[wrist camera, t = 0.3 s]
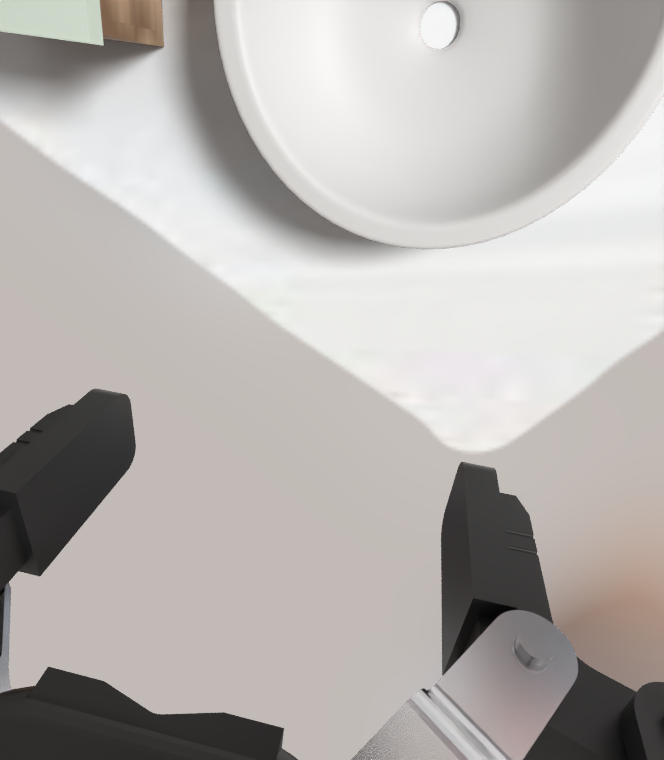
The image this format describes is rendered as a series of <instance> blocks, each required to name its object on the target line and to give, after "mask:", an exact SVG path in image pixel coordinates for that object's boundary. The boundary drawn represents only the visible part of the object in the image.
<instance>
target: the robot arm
mask: <svg viewBox="0 0 664 760" xmlns="http://www.w3.org/2000/svg"><path fill="white" fill-rule="evenodd" d="M135 448H136V445H135V435H134V427H133V419H132V411H131V403H130V399H129V397H128V396H127V395H125V394H121V393H116V392H111V391H105V390H101V389H93V390H91V391H90V392H88V393H87V394H86V395H85V396H84V397H82V398H81V399H80V400H79V401H78V402H77V403H75V404H74V405H67V406H65V407H62V408H60V409H58V410H56V411H54V412H51V413H49V414H47V415H46V416H45V417H43V418H42V419H41V420H40V421H39V422H37V423H36V424H35V425H34V426H32V427H31V428H30V431H26V432H25V433H24V434H23V435H21V436H20V437H19V438H18V439H17V442H16V443H14V442H13V443H12V444H10V445H9V446H8V447H7V448H6V449H4V450H3V451H2V452H1V453H0V760H298V759H296V758H295V757H294V756H293V755H291V754H290V753H288V752H286V751H285V750H283V749H282V740H283V731H284V728H281V727H277V726H273V725H269V724H265V723H261V722H258V721H254V720H250V719H246V718H242V717H239V716H235V715H231V714H227V713H197V714H165V715H161V714H155V713H152V712H150V711H148V710H147V709H145V708H144V707H142V706H141V705H139V704H138V703H136V702H135V701H133V700H132V699H130V698H129V697H127V696H126V695H124V694H123V693H121V692H119V691H118V690H116V689H115V688H113V687H112V686H110V685H109V684H107V683H106V682H104V681H101V680H97V679H93V678H89V677H86V676H81V675H78V674H74V673H70V672H66V671H63V670H59V669H55V668H51V667H48V668H47V670H46V671H45V672H44V674H43V675H42V677H41V678H40V680H39V681H38V683H37V684H36V686H31V687H25V688H18V689H13V690H11V686H10V681H9V669H8V662H9V634H10V605H11V604H10V603H11V587H10V585H9V581H10V580H11V579H12V578H13V576H14V575H15V574H16V573H17V572H18V571H20V572H24V573H28V574H33V575H37V576H41V575H42V573H43V572H44V571H45V570H46V568H47V567H48V566H49V565H50V564H51V562H52V561H53V560H54V559H55V558H56V556H57V555H58V554H59V553H60V552H61V550H62V549H63V548H64V546H65V545H66V544H67V543H68V542H69V541H70V539H71V538H72V537H73V536H74V535H75V533H76V532H77V531H78V529H79V528H80V527H81V526H82V525H83V524H84V522H85V521H86V520H87V519H88V518H89V516H90V515H91V514H92V513H93V512H94V510H95V509H96V508H97V507H98V505H99V504H100V503H101V502H102V500H103V499H104V498H105V497H106V496H107V494H108V493H109V492H110V491H111V490H112V488H113V487H114V486H115V485H116V484H117V482H118V481H119V480H120V479H121V477H122V476H123V475H124V474H125V472H126V471H127V470H128V469H129V467H130V465H131V463H132V461H133V458H134V455H135ZM441 562H442V563H441V565H442V567H441V570H442V675H443V676H442V678H441V679H440V680H439V681H438V682H437V683H436V684H435V685H434V686H433V687H432V688H431V689H429V690H427V691H426V690H425V689H421V690H419V691H418V692H416V693H415V694H414V695H413V696H412V697H411V698H410V699H409V700H408V701H407V702H406V703H405V704H404V705H403V706H402V707H401V708H400V709H399V710H398V711H397V712H396V713H395V714H394V715H393V716H392V717H391V718H390V720H389V721H388V722H387V723H386V724H385V725H384V726H383V727H382V728H381V729H380V730H379V731H378V732H377V733H376V734H375V735H374V736H373V737H372V738H371V740H370V741H369V742H368V743H367V744H366V745H365V746H364V747H363V748H362V749H361V750H360V751H359V752H358V753H357V754H356V755H355V756H354V757H353V759H352V760H664V683H663V682H652V683H648V684H645V685H643V686H642V687H641V688H640V689H639V690H638V691H637V692H636V691H634V690H632V689H630V688H628V687H626V686H624V685H622V684H620V683H619V682H617V681H615V680H613V679H611V678H609V677H607V676H605V675H604V674H602V673H600V672H597V671H596V670H594V669H593V668H591V667H589V666H588V665H587V664H585V663H584V662H583V661H581V660H580V659H579V658H578V657H577V656H576V654H575V651H574V649H573V647H572V645H571V643H570V642H569V641H568V639H567V638H566V636H565V635H564V634H563V633H562V632H561V631H560V630H559V629H558V628H557V627H556V626H555V625H554V624H553V621H552V617H551V612H550V608H549V603H548V599H547V595H546V590H545V585H544V581H543V576H542V571H541V567H540V562H539V558H538V555H537V548H536V544H535V539H533V530H532V525H531V521H530V516H529V514H528V513H527V512H526V510H525V508H524V507H523V505H522V504H521V503H520V501H519V500H518V498H517V497H516V496H514V495H509V494H504V493H499V487H498V480H497V474H496V470H495V469H494V468H490V467H485V466H479V465H475V464H470V463H465V462H461V463H460V465H459V467H458V470H457V473H456V477H455V480H454V484H453V486H452V490H451V493H450V496H449V500H448V503H447V506H446V509H445V513H444V518H443V524H442V533H441Z"/></svg>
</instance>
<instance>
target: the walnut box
mask: <svg viewBox="0 0 664 760" xmlns="http://www.w3.org/2000/svg"><path fill="white" fill-rule="evenodd" d="M100 11H101V21H102V32H103V39H107V40H115V41H122V42H130V43H137V44H145V45H152V46H160V47H164V42H163V19H162V0H100Z"/></svg>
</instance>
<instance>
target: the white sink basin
mask: <svg viewBox="0 0 664 760" xmlns="http://www.w3.org/2000/svg"><path fill="white" fill-rule="evenodd" d="M439 1H446V2H449V3H451V4H453V5H454V6H455V7H456V9H457V10H458V12H459V15H460V29H459V32H458V35H457V37H456V38H455V40H454V41H453V42H452V43H451V44H450V45H449V46H447V47H445V48H442V49H433V48H431V47H429V46H427V45H426V44H425V42H424V41H423V39H422V37H421V33H420V23H421V19H422V16H423V14H424V12H425V11H426V10H427V8H428V7H429V6H431V5H432V4H434V3H436V2H439ZM213 5H214V19H215V27H216V34H217V40H218V47H219V51H220V56H221V60H222V65H223V69H224V73H225V76H226V79H227V83H228V86H229V89H230V92H231V95H232V98H233V100H234V103H235V105H236V108H237V110H238V113H239V115H240V118H241V120H242V122H243V124H244V126H245V128H246V130H247V132H248V134H249V136H250V138H251V139H252V141H253V142H254V144H255V146H256V147H257V149H258V151H259V152H260V154H261V156H262V157H263V158H264V160H265V161H266V162H267V164H268V165H269V166H270V168H271V169H272V171H273V172H274V173H275V174H276V175H277V177H278V178H279V179H280V180H281V181H282V182H283V183H284V184H285V186H286V187H287V188H288V189H289V190H290V191H291V192H292V193H293V194H295V195H296V196H297V197H298V198H299V199H300V200H301V201H302V202H303V203H305V204H306V205H307V206H308V207H310V208H311V209H312V210H313V211H315V212H316V213H317V214H319V215H320V216H322V217H324V218H325V219H327V220H328V221H330V222H331V223H333V224H335V225H337V226H339V227H341V228H343V229H345V230H347V231H349V232H351V233H353V234H356V235H358V236H361V237H363V238H366V239H369V240H372V241H376V242H379V243H383V244H387V245H392V246H398V247H404V248H416V249H446V248H454V247H462V246H468V245H472V244H477V243H482V242H485V241H489V240H492V239H495V238H498V237H501V236H504V235H507V234H509V233H512V232H514V231H517V230H519V229H521V228H524V227H526V226H528V225H530V224H532V223H534V222H535V221H537V220H539V219H541V218H543V217H545V216H547V215H548V214H550V213H551V212H553V211H555V210H556V209H558V208H559V207H561V206H562V205H564V204H565V203H567V202H568V201H569V200H571V199H572V198H573V197H575V196H576V195H577V194H579V193H580V192H581V191H583V190H584V189H585V188H586V187H587V186H589V185H590V184H591V183H592V182H593V181H594V180H595V179H596V178H598V177H599V176H600V175H601V174H602V173H603V172H604V171H605V170H606V169H607V168H608V167H609V166H610V165H611V164H612V163H613V162H614V161H615V160H616V159H617V158H618V157H619V156H620V155H621V154H622V152H623V151H624V150H625V149H626V147H627V146H628V145H629V144H630V143H631V141H632V140H633V139H634V138H635V137H636V135H637V134H638V133H639V132H640V130H641V129H642V127H643V126H644V125H645V123H646V122H647V120H648V119H649V117H650V116H651V115H652V113H653V112H654V110H655V109H656V107H657V106H658V104H659V102H660V101H661V99H662V97H663V96H664V0H213Z"/></svg>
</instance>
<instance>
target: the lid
mask: <svg viewBox="0 0 664 760" xmlns="http://www.w3.org/2000/svg"><path fill="white" fill-rule="evenodd" d="M0 32H6V33H14V34H21V35H28V36H36V37H43V38H51V39H58V40H65V41H73V42H80V43H87V44H95V45H102V46H104V43H103V32H102V21H101V11H100V0H0Z"/></svg>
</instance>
